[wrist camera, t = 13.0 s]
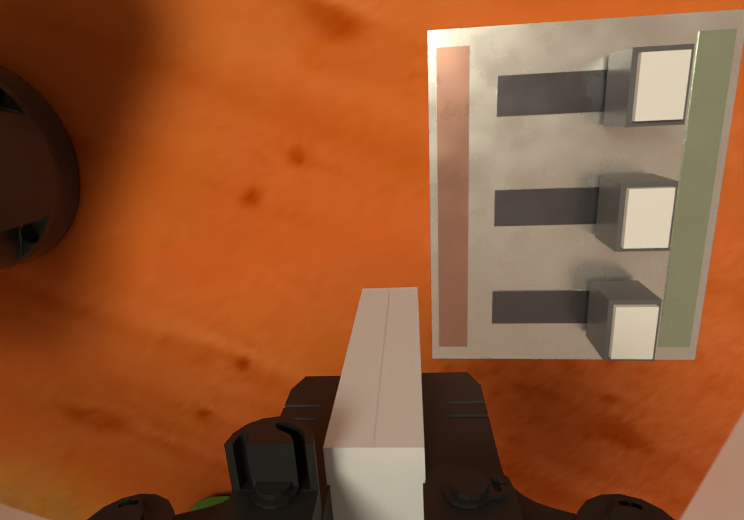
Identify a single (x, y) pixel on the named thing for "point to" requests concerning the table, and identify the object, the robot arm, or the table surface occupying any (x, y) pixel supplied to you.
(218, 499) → the bottle
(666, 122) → the block
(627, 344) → the breaker
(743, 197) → the table surface
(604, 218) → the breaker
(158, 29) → the table surface
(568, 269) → the panel
